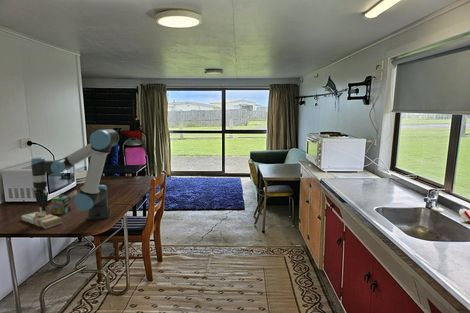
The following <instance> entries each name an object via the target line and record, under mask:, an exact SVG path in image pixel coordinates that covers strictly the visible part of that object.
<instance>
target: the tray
mask: <svg viewBox="0 0 470 313" xmlns="http://www.w3.org/2000/svg"><path fill="white" fill-rule="evenodd" d="M37 212H38V211H34V212H30V213H27V214H23V215H21V221H24V222H26V223H28V222H29V224H31V225H34V219H31V218H29V216H28V215H31V214H34V213H37Z"/></svg>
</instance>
